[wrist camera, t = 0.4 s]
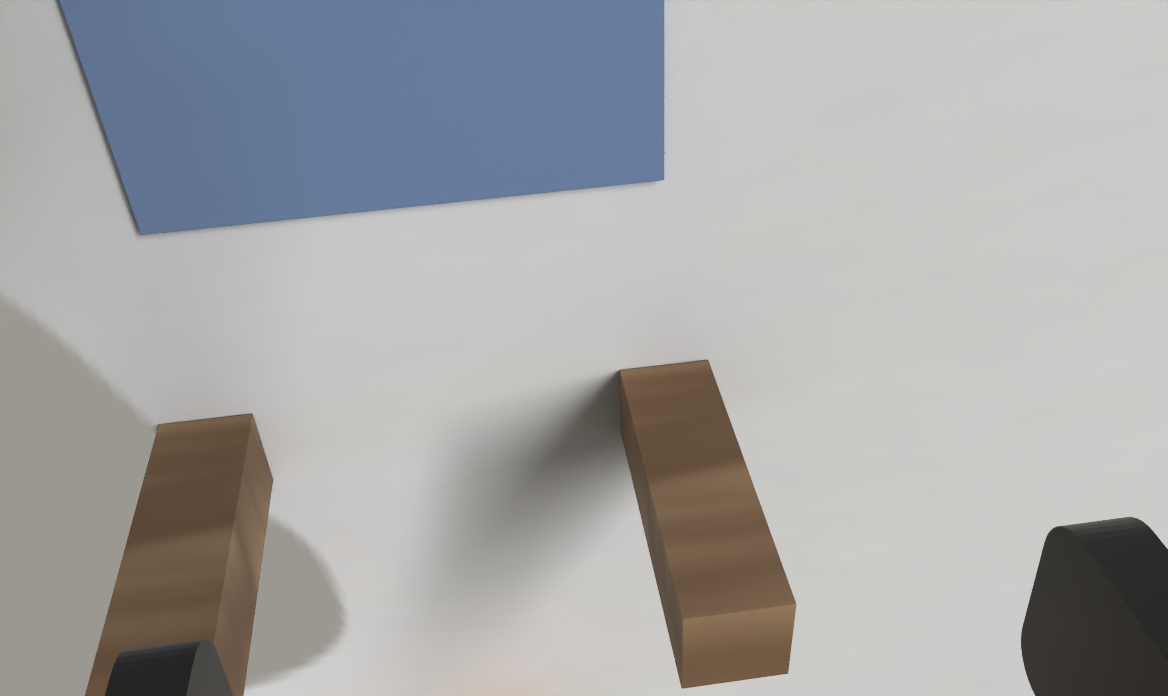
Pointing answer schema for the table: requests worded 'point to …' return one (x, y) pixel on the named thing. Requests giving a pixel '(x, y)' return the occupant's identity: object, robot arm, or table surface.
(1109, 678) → the robot arm
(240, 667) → the post
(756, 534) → the post
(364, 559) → the table surface
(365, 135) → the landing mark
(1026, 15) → the table surface
